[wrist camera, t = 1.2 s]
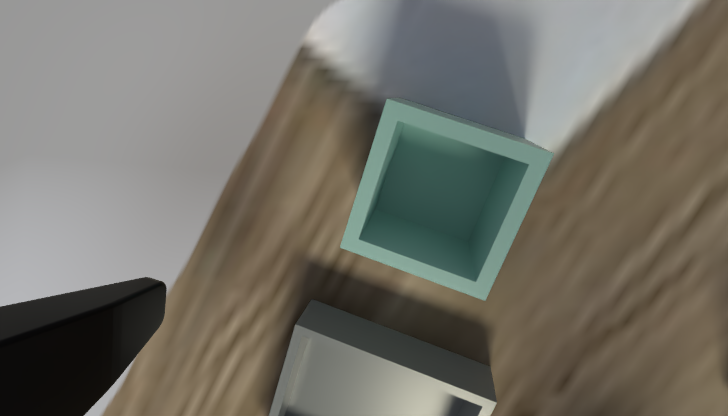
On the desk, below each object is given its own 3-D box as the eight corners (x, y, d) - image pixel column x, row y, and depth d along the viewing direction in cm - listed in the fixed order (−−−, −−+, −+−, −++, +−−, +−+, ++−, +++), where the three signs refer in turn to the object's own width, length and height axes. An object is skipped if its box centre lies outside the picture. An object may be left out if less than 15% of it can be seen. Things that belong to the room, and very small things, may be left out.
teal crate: (524, 138, 18) (553, 153, 13) (474, 252, 20) (485, 300, 15) (400, 97, 19) (387, 98, 14) (363, 212, 21) (339, 247, 16)
